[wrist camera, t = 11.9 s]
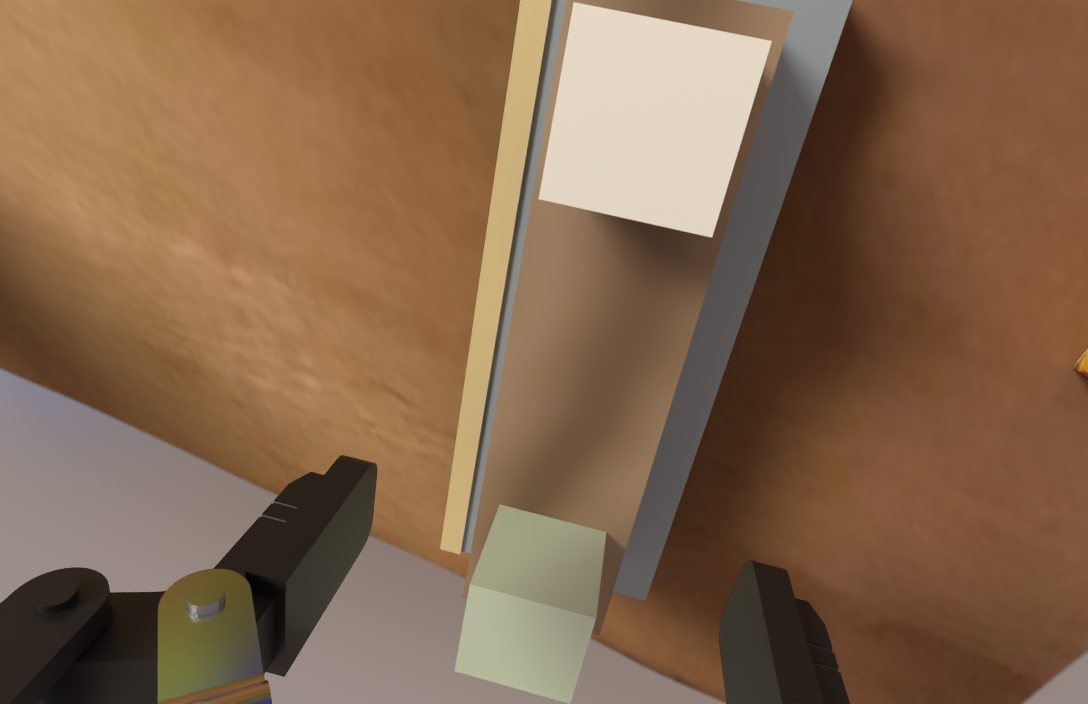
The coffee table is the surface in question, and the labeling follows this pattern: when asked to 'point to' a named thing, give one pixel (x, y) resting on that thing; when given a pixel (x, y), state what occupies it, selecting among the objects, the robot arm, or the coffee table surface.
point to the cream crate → (649, 117)
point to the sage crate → (532, 604)
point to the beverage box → (1082, 364)
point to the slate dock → (740, 256)
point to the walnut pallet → (604, 332)
